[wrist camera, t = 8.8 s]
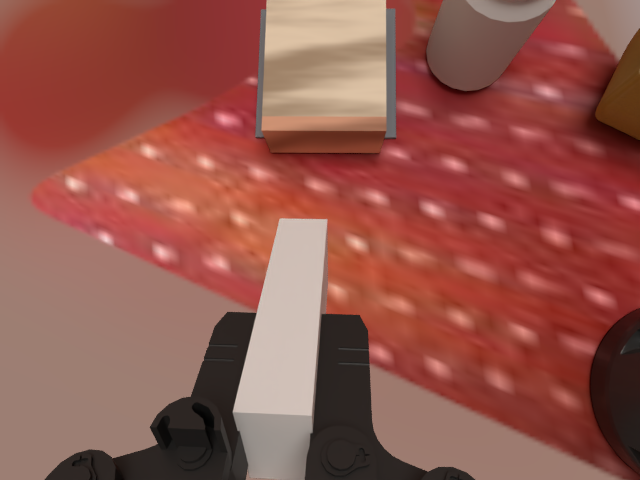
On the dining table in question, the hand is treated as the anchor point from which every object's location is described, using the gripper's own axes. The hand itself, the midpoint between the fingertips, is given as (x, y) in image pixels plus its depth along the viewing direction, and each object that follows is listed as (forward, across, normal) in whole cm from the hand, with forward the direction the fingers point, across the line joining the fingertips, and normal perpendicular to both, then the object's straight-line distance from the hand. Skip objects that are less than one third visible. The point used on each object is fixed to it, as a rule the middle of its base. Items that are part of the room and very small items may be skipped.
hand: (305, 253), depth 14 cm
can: (+32, +12, -2) cm, 34 cm away
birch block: (+23, -1, -6) cm, 23 cm away
